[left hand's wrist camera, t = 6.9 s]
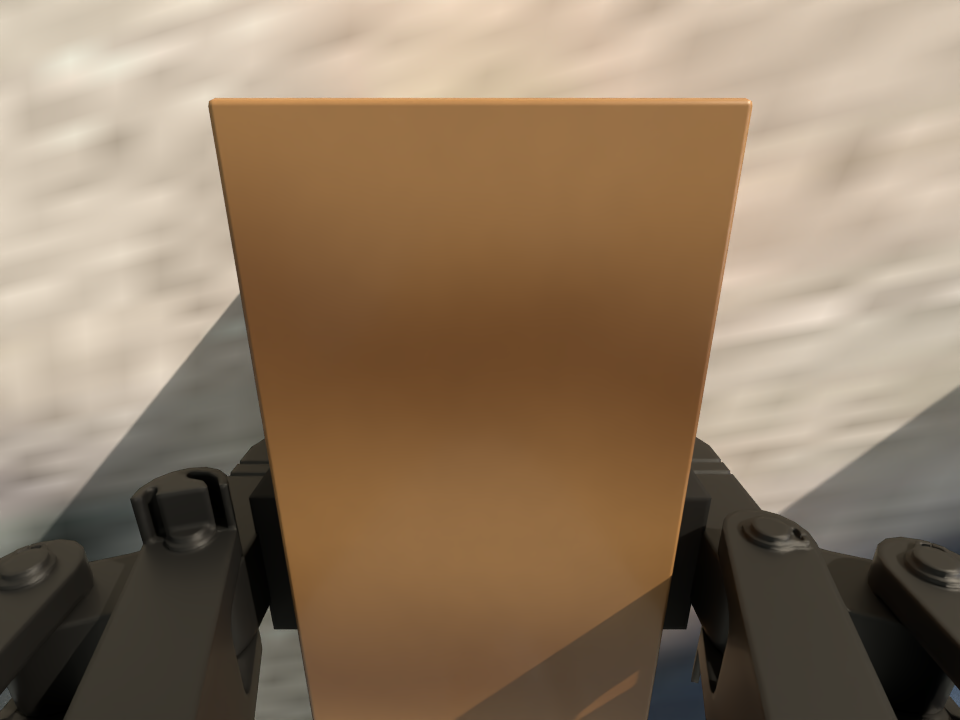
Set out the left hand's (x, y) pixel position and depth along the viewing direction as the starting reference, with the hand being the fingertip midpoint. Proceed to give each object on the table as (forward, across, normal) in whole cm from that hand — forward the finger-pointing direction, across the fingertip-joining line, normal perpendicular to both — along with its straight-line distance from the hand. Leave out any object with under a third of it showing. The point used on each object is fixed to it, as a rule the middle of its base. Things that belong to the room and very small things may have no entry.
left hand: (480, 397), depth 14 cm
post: (+1, 0, -23) cm, 23 cm away
